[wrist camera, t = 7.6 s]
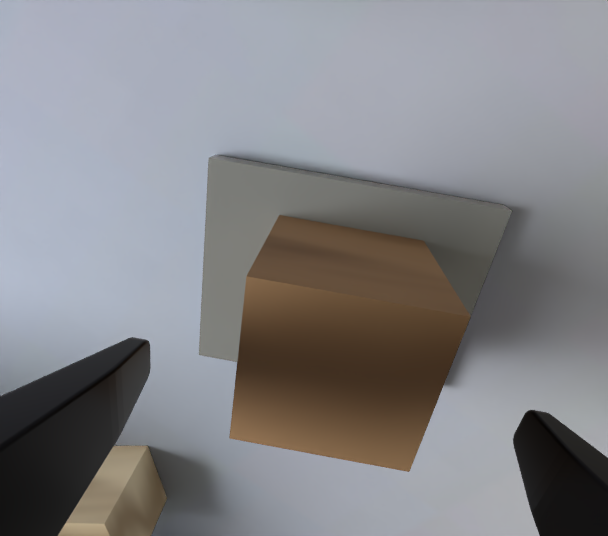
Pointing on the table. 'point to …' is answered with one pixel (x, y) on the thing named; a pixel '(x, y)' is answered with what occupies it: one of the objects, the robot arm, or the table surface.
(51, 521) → the robot arm
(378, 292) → the walnut cube
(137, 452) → the maple cube
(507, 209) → the plate
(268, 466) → the table surface
